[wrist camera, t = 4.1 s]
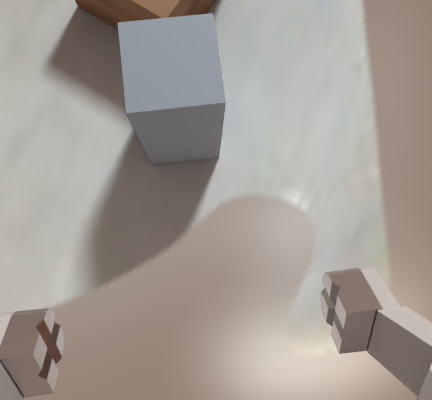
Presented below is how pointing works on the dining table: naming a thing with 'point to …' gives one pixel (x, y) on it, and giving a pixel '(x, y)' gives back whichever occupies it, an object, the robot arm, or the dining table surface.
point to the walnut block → (142, 9)
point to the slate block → (173, 86)
